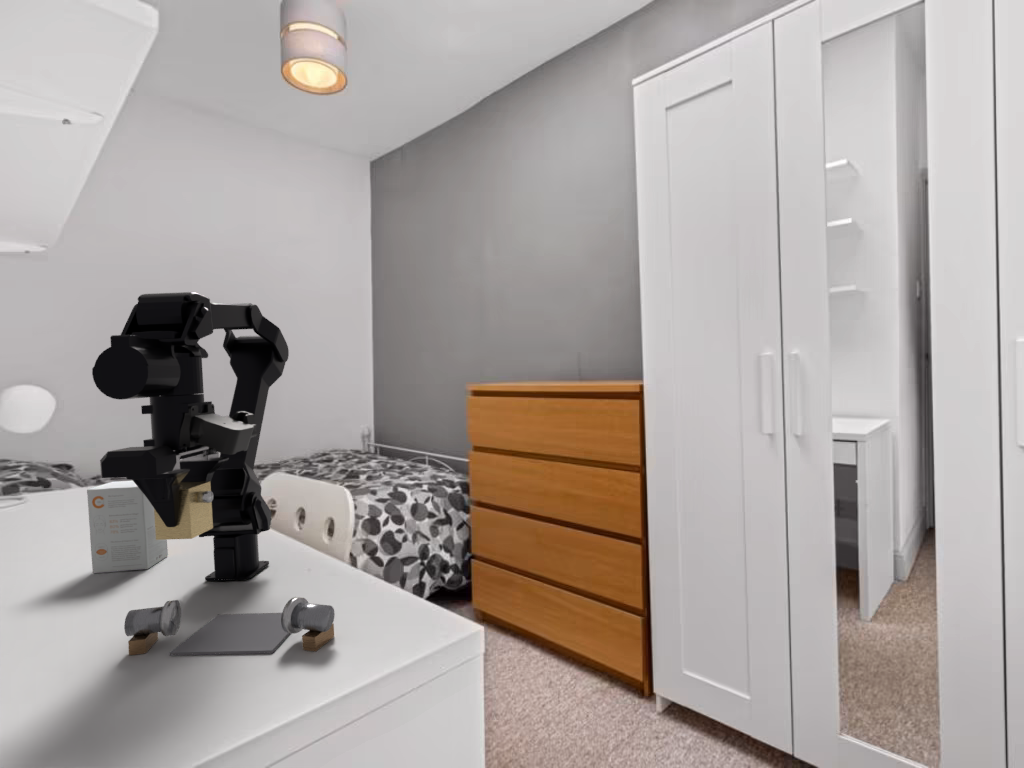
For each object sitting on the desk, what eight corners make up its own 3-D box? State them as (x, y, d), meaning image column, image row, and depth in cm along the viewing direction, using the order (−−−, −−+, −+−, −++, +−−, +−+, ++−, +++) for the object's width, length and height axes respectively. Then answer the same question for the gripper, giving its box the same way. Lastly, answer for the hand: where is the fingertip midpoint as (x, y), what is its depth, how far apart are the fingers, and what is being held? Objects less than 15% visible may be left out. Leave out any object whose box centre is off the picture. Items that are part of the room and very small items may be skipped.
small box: (168, 556, 91) (164, 477, 91) (147, 570, 85) (142, 485, 84) (116, 560, 90) (111, 480, 90) (90, 574, 84) (85, 489, 83)
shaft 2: (282, 648, 58) (280, 605, 58) (304, 632, 62) (302, 591, 62) (317, 652, 57) (315, 609, 57) (338, 636, 61) (336, 595, 60)
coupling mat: (218, 616, 67) (218, 614, 67) (307, 614, 66) (307, 612, 66) (169, 655, 58) (169, 652, 58) (272, 653, 57) (272, 650, 57)
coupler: (170, 529, 71) (167, 482, 70) (222, 527, 70) (219, 480, 70) (146, 540, 66) (143, 490, 66) (201, 538, 66) (198, 488, 66)
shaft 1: (182, 635, 62) (180, 594, 62) (170, 650, 59) (167, 608, 59) (138, 640, 61) (136, 600, 61) (123, 657, 58) (121, 613, 58)
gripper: (194, 396, 58) (202, 543, 59) (276, 389, 77) (282, 501, 77) (92, 400, 59) (101, 546, 59) (198, 392, 77) (205, 503, 78)
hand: (184, 521), depth 68 cm, fingers closed on coupler, 4 cm apart
